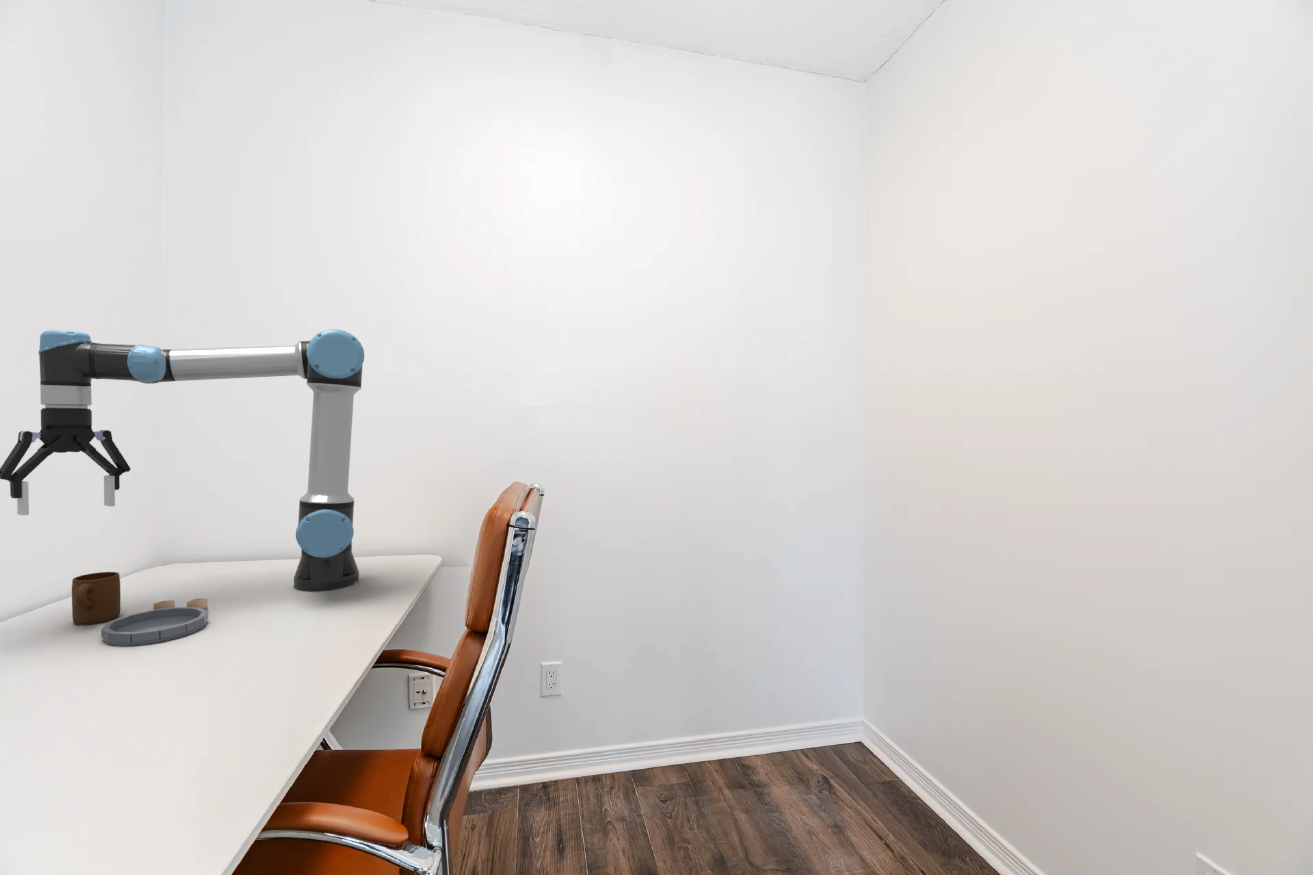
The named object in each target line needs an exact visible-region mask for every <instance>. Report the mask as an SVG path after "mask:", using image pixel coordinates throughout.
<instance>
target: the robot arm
mask: <svg viewBox="0 0 1313 875" xmlns="http://www.w3.org/2000/svg"><path fill="white" fill-rule="evenodd" d="M38 356H39V359H38V360H39V374H40V375H39V380H40V382H39V383H40V387H39V388H40V393H39V394H40V405H42V406H44V407H42V408H41V409H40V431H39V432H33V431H29V430H21V431H19V432H18V438H17V442H16V444H15V446H14V447H13V448H12V450H11V451H10V453H9V455H8V456H7V458H6V459H5V460H4V462H3V464H2V465H1V467H0V480H4V481H8V482H9V488H10V489H9V490H10V491H9V494H10V497H11V499H16V500H17V501H16V503H17V504H16V505H17V506H16V507H17V508H16V510H17V511H16V512H17V515H19V516H29V515H30V501H29V500H30V499H29V496H30V495H29V481H27V480H26V481H24V479H26V478H27V477H28V476H29V475H30V474H31V473H32V472H33V471H34V470H35V469H36V468H37V467H38V466H40V464H41V463H43V462H44V461H46V460H45V459H47V458H48V457H49V456H51V455H52V454H54V453H59V454H61V453H62V454H63V453H68V452H70V453H80V452H82V453H84V454H85V456H86V455H87V457H89V458H90V459H91V460H92V461H93V462H94V463H95V464H97V465H98V466H99V467H100V468H101V469H102V470H104V471H105V472H106V473H107V474H108V475H103V501H104V502H103V505H104V506H105V507H115V506H116V495H115V494H116V493H115V492H116V491H119V490H120V487H121V486H120V478H121V477H120V476H122V475H123V474H124V473H128V472H130V471H131V467H130V465H129V463H128V462H127V461H126V458H125V457H124V455H123V454H122V453H121V452H120V450H119V448H118V446H117V445H116V443H115V442H114V440H113V435H112V434H113V433H112V431H111V430H109V429H108V430H107V429H100V430H98V431H94V430H93V428H92V425H93V415H92V414H93V413H92V412H93V411H92V409H91V408H89V407H90V406H92V404H93V403H92V402H93V401H92V379H93V380H112V381H115V380H116V381H131V382H139V383H143V384H145V385H146V384H147V385H148V384H158V383H169V382H170V383H171V382H182V381H183V382H184V381H185V382H186V381H187V382H189V381H203V380H205V381H207V380H224V379H225V380H226V379H227V380H229V379H247V378H248V379H249V378H250V379H251V378H271V377H290V376H299V377H301V378H302V379H303V380H306V385H307V387H309V388H310V389H311V390H312V393H313V396H312V410H311V412H312V415H311V427H310V428H311V431H310V445H309V448H310V450H309V460H308V461H309V462H308V478H307V491H306V492H305V494H304V495H303V496H301V497H300V498H299V504H298V505H299V506H298V519H297V520H298V522H297V527H296V529H295V539H296V542H297V544H298V546H299V547H300V549H301V553H300V554H301V555H300V559H299V562H298V565H297V568H296V571H295V573H294V576H293V588H294V589H296V590H299V591H311V592H312V591H315V592H316V591H328V590H336V589H340V588H341V589H343V588H346V587H349V586H352V585H354V584H356V583H358V582H359V581H358V580H360V571H359V568H358V565H357V562H356V560H355V557H354V555H353V549H352V548H353V546H352V544H353V537H354V534H355V533H354V531H355V530H354V526H353V525H354V506H355V498H354V497H353V496H352V495H351V494H350V493H349V481H350V480H349V478H350V477H349V476H350V465H351V464H350V463H351V459H350V458H351V447H352V446H351V445H352V444H351V443H352V432H353V431H352V428H353V413H354V412H353V411H354V396H355V394H357V392H359V391H360V390H361V389H362V381H363V380H362V379H363V364H364V361H365V349H364V347H363V344H361V342H360V340H359V339H358V338H357V337H356V336H354V335H353V334H351V333H350V332H347V331H346V330H342V329H336V328H335V329H334V328H333V329H326V330H323V331H322V330H321V331H320V332H319V333H316V334H315V335H314V336H313V337H312V338H311V339H310V340H307V341H306V340H303V341H302V340H301V341H300V340H299V341H297V343H296V344H294V345H271V346H269V345H267V346H266V345H265V346H237V347H235V346H234V347H209V348H208V347H204V348H202V347H201V348H174V349H173V348H172V349H166V348H164V349H163V348H162V349H161V348H160V347H158V346H153V345H144V344H118V343H99V342H92V340H91V335H89V333H87V332H81V331H71V330H70V331H68V330H59V329H58V330H55V329H52V330H51V329H50V330H49V329H48V330H45V331H43V332H41V333H40V337H39V350H38ZM94 438H96V440H97V441H99V442H100V444H101V446H102V447H103V448H104V450H105V452H106V453H107V455H108V456H109V457H110V459H111V461H112V462H113V463H112V462H111V461H109V460H108V459H107V458H106V457H105V456H104V455H103V454H102V453H100V452H99V451H98V450H97V448H96V447H95V446H94V445H93V444H91V442H92V441H93V439H94ZM37 439H39V440H40V442H41V443H43V444H42V445H41V446H40V447H39V448H37V450H36V451H35V453H33V455H31V457H29V458H28V459H26V461H25V462H23V464H22V465H20V466H19V464H20V462H21V460H22V459H23V457H25V455H26V453H27V451H28V449H30V447H31V445H32V443H34V442H36V440H37ZM18 466H19V467H18ZM16 468H17V469H16ZM355 582H356V583H355Z"/></svg>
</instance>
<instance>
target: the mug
mask: <svg viewBox="0 0 1313 875" xmlns="http://www.w3.org/2000/svg"><path fill="white" fill-rule="evenodd" d="M71 583H72V584H71V608H72V610H71V611H72V615H71V616H72V617H71V618H72V622H73V623H74V625H75V624H76V625H78V626H79V625H82V626H86V625H97V624H102V623H106V622H107V623H108V622H110V621H113V620H115V619H118V618H119V616H120V615H121V612H122V611H121V610H122V609H121V598H122V597H121V577H120V573H119V572H118V571H101V572H93V573H86V574H81V575H78V576H75V577H73V578H72V581H71Z"/></svg>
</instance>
